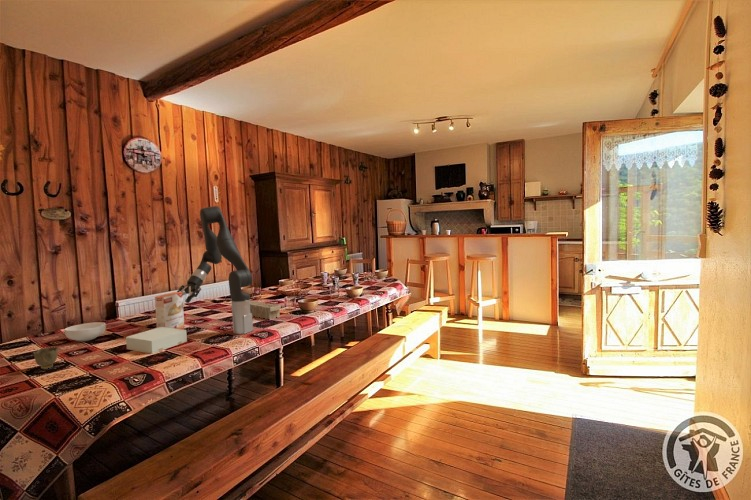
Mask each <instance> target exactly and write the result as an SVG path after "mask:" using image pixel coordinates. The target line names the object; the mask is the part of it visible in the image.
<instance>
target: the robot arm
mask: <svg viewBox="0 0 751 500" xmlns="http://www.w3.org/2000/svg"><path fill="white" fill-rule="evenodd" d="M199 217H200V222H201V226H202V231H203V235H204V244H205V245H204V246H205V247H204V248H205V251H204V252H203V254H202V258H201V260H200V263H199V264H198V266H197V267H196V269H195V270H193V271H194V272H192V274H191V275H190V277H189V278H188V279H187V281H186V285H184V284H181V286H180V287H179V289H178V290H177V291H176V292H182V293H183V296H186V295H188V296H187V298H186V299H185V300H184V301H185V303H187V304H189V303H190V302H191V301H192V299H194V298H196V297H198V295H199V294H200V293H201V290H202V288H201V286H202V285H203V284H204V283H205V280H206V278H207V276H208V275H209V274H210V273H211V270H212V266H211V265H210V264H213V265H219V264H220V263H221V261H222V258H224V259H225V260H226V261H228V262H229V263H231V265H233V267H234V268H235V270H232V271H230V272H229V275H228V285H229V287H228V288H229V296H230V299H231V313H232V314H231V316H232V331H233V334H235V335H241V334H247V333H250V332H253V331H254V323H253V316H252V313H251V311H250V301H251V298H250V297H251V296H250V294H249V293H247V292H243V291H242V288H245V287H249V286H251V285H252V283H253V275H252V272H251V271H250V268H249V267H248V266H247V264H246V262H245V261H244V259H243V257H242V255H241V253H240V251H239V249H238V246H237V244H236V242H235V240H234V238H233V236H232V234H231V231H230V229H229V228H228V225H227V222H226V220H225V217H224V214H223V211H222V210H221V208H220V207H219V206H217V205H214V206H209V207H208V206H207V207H203V208H200V211H199ZM216 223H218V226H219V228H218V230H219V231H218V234H217V235H216V233H215V232H214V231H213V230H212V229H211V228H210V225H211V224H216ZM209 263H210V264H209Z"/></svg>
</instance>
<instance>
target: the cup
mask: <svg viewBox="0 0 751 500" xmlns="http://www.w3.org/2000/svg"><path fill="white" fill-rule="evenodd" d="M32 353H33V357H34V360H35V363H36V364H37V366H39V367H40V369H42V370H49V369H52V368H53V366H54V363H55V362H56V361H57V358H58V346H55V347H54V346H50V347H49V348H48V347H46V348H43V347H41V348H40V349H37V350H36V351H32ZM51 367H52V368H51ZM48 368H49V369H48Z"/></svg>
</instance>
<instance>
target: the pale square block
mask: <svg viewBox="0 0 751 500" xmlns="http://www.w3.org/2000/svg"><path fill="white" fill-rule="evenodd" d="M187 336H188V335H187V329H175V328H168V327H159V328H157V327H155V328H152V329H148V330H146V331H142V332H139V333H135V334H132V335H129V336H126V337H125V344H126V350H130V351H135V352H140V353H141V352H142V353H146V354H152V355H153V354H156V353H158V352H162V351H163V350H167V349H169V348H172V347H175V346H178V345H181V344H184V343H186V342H188V337H187Z"/></svg>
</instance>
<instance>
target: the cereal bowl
mask: <svg viewBox="0 0 751 500" xmlns="http://www.w3.org/2000/svg"><path fill="white" fill-rule="evenodd" d="M106 328H107V325H106V322H99V321H96V322H95V321H94V322H87V323H86V322H85V323H80V324H76V325H72V326H68V327H66V328H64V335H65V337H66V338H68V340H73V341H76V342H79V343H80V342H88V341H92V340H95V339H96V338H97V337H99V336H102V334H104V333H105V331H106Z"/></svg>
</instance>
